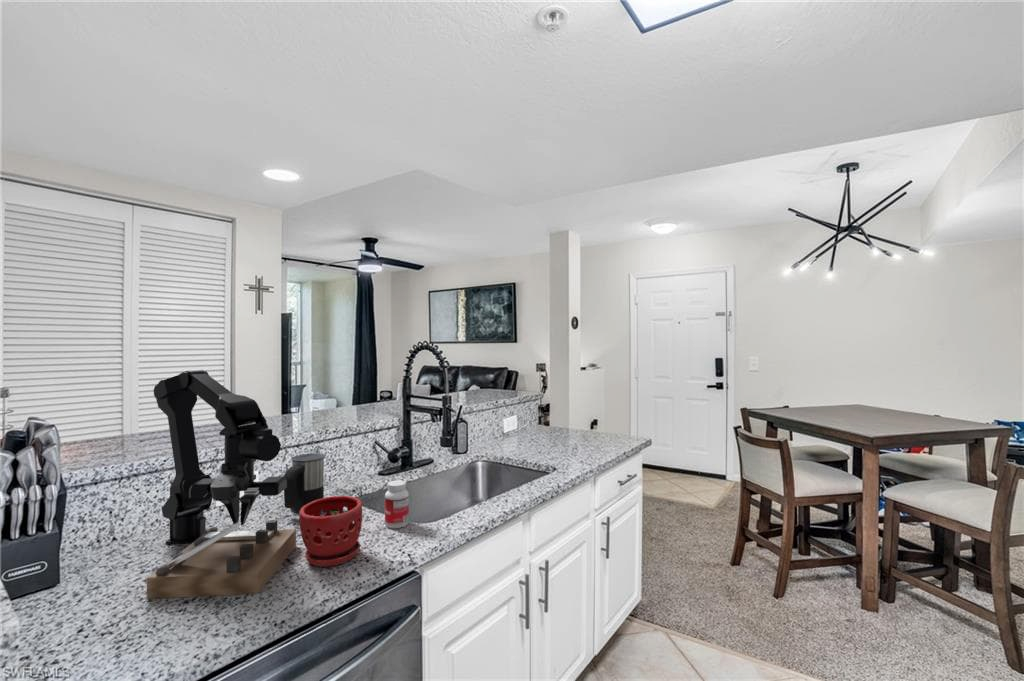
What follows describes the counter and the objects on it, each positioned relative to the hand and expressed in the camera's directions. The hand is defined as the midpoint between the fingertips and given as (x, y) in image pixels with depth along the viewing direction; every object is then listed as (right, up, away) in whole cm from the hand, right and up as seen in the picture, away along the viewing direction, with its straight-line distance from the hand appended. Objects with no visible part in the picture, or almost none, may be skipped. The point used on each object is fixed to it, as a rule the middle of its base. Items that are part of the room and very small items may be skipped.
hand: (239, 524), depth 108 cm
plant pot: (+21, -7, -1) cm, 22 cm away
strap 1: (0, +1, -13) cm, 13 cm away
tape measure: (+17, -7, +16) cm, 24 cm away
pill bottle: (+31, -7, +18) cm, 37 cm away
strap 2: (0, -3, 0) cm, 3 cm away
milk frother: (+6, -7, +29) cm, 30 cm away
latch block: (+2, -7, -6) cm, 10 cm away
